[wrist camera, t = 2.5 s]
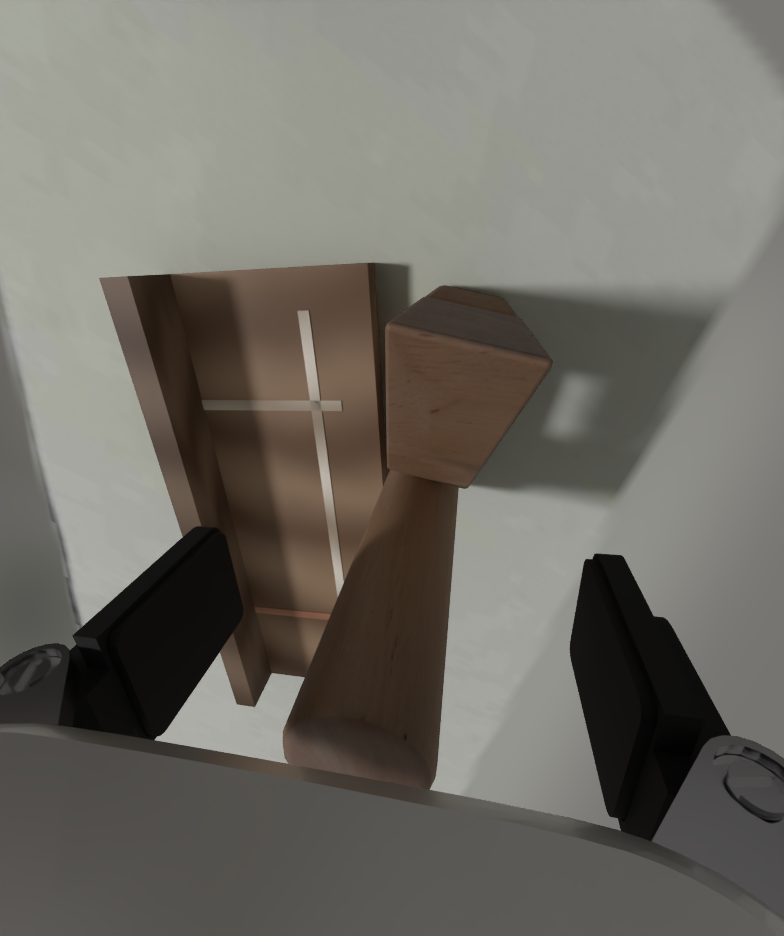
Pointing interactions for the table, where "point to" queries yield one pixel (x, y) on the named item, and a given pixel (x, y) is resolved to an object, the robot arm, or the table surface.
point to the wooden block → (413, 540)
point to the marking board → (264, 435)
